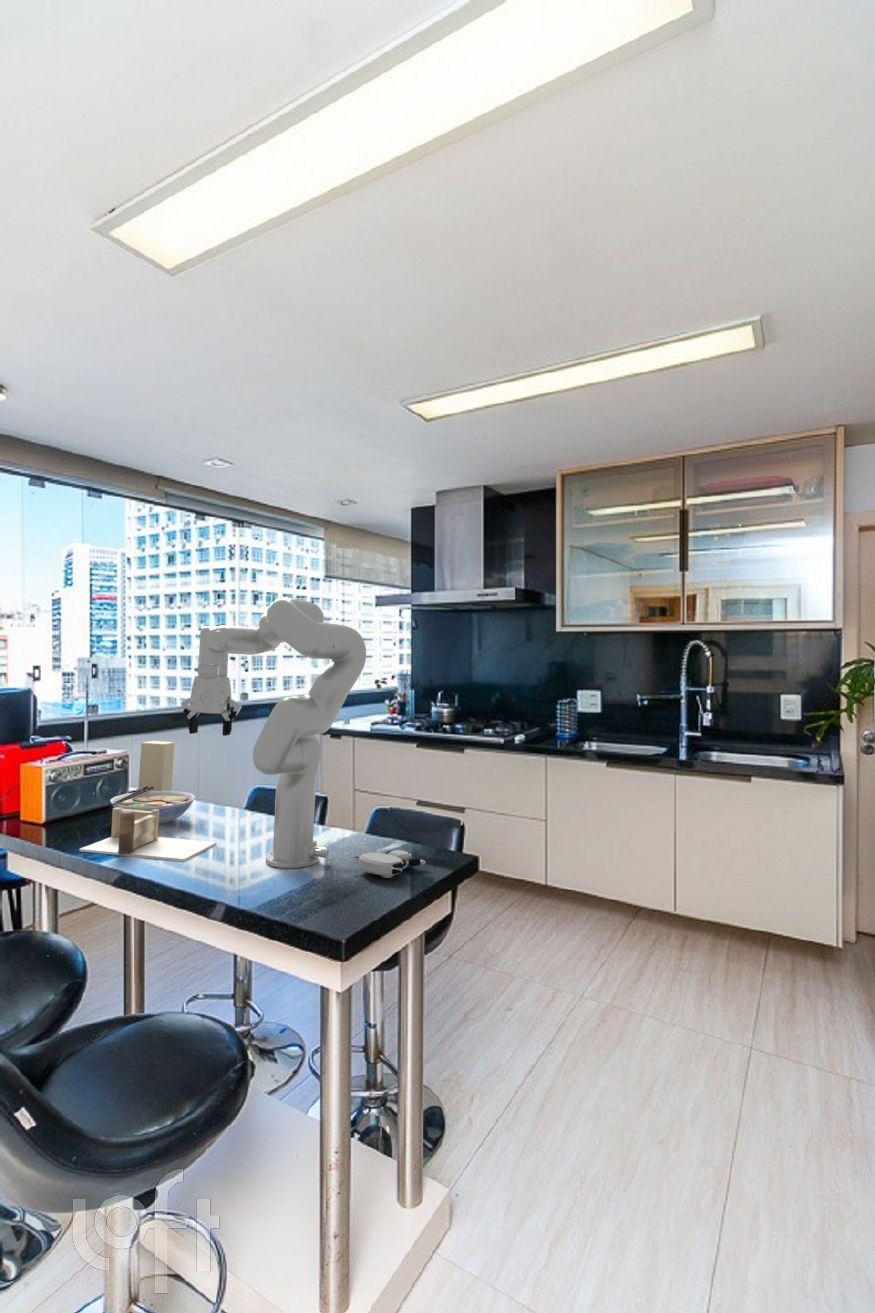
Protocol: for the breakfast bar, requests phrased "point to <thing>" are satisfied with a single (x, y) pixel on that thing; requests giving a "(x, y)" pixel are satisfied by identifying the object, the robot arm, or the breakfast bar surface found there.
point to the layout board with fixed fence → (152, 849)
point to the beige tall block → (156, 765)
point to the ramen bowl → (156, 802)
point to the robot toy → (387, 862)
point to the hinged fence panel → (134, 831)
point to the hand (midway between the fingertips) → (209, 734)
